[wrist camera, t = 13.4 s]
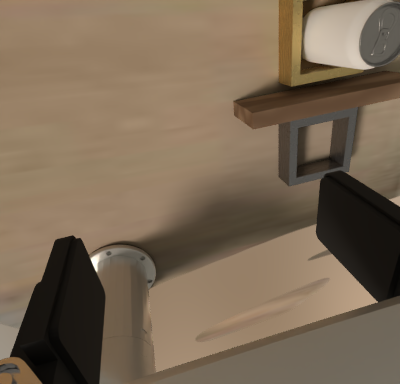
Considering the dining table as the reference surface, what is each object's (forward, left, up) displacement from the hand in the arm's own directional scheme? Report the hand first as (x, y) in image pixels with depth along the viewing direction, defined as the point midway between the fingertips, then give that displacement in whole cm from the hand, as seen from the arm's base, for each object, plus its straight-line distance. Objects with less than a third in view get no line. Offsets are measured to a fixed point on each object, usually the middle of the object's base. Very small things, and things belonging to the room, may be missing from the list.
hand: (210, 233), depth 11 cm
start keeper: (-11, -23, -30) cm, 40 cm away
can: (+3, -23, -31) cm, 38 cm away
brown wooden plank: (-4, -23, -30) cm, 38 cm away
